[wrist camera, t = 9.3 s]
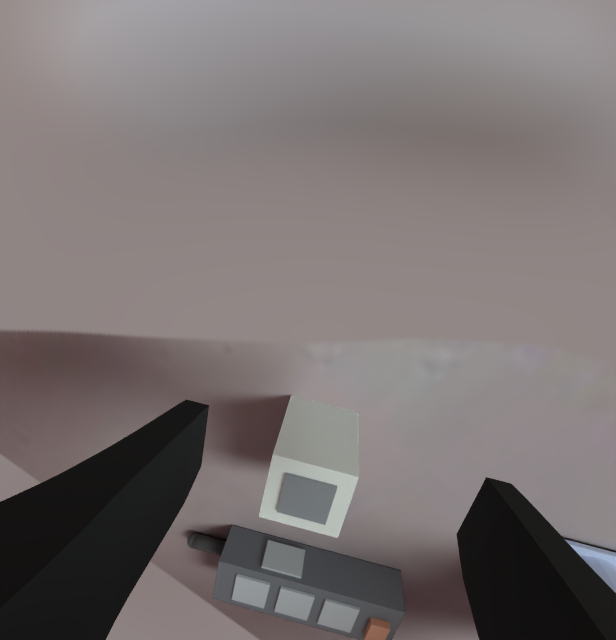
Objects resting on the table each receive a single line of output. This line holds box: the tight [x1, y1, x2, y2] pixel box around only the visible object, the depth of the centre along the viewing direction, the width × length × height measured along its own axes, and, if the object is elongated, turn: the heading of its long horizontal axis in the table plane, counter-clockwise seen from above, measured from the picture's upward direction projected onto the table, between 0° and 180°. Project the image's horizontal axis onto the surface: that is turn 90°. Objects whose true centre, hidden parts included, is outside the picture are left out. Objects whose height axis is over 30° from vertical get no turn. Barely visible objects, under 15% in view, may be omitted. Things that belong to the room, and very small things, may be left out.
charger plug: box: [259, 395, 359, 538], centre depth 19 cm, size 4×4×5 cm
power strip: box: [187, 525, 405, 640], centre depth 24 cm, size 15×4×3 cm, turn 78°
